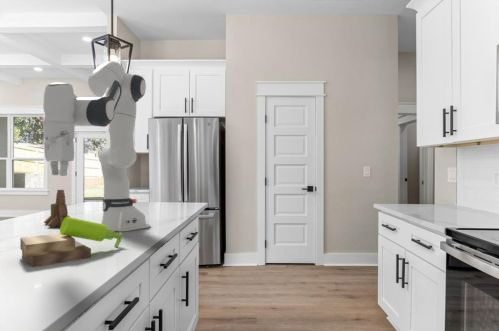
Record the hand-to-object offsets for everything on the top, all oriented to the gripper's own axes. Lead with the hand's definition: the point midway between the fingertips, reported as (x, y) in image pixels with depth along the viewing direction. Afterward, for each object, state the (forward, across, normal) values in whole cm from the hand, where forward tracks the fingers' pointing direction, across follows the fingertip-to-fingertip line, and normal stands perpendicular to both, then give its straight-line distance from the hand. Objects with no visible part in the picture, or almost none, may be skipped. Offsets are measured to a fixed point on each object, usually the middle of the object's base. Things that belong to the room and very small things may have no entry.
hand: (59, 175), depth 110 cm
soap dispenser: (+17, 0, -1) cm, 17 cm away
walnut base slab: (+27, 0, +1) cm, 27 cm away
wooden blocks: (+27, +63, -16) cm, 70 cm away
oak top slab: (+23, 0, +3) cm, 24 cm away
